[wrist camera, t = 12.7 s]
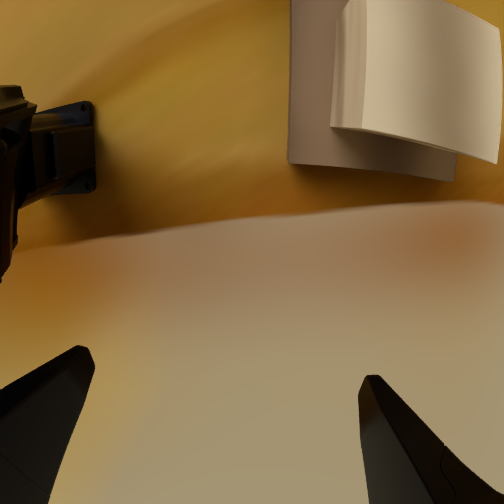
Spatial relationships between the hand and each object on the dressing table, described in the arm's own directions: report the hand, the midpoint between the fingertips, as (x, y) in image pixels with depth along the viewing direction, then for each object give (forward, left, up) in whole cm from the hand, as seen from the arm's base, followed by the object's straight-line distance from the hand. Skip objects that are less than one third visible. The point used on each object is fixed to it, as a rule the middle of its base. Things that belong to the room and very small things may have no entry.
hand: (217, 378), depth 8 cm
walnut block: (+7, +10, -13) cm, 18 cm away
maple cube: (+7, +10, -10) cm, 16 cm away
